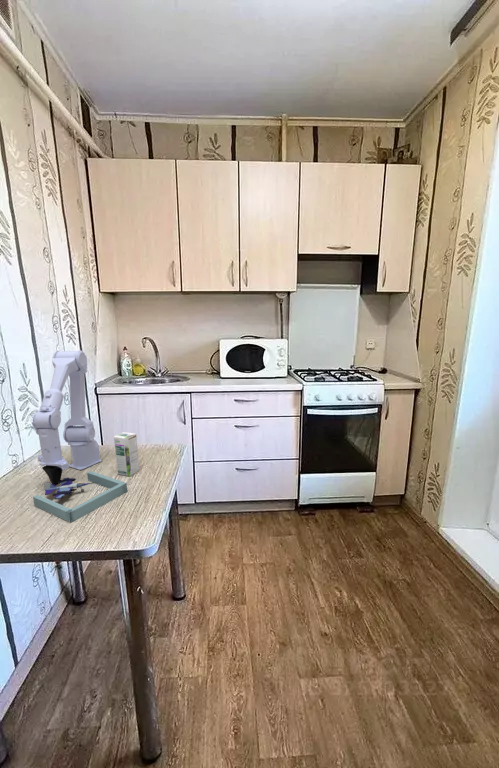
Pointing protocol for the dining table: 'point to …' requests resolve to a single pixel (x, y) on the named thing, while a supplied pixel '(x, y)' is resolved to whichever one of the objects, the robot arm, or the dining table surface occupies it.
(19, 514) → the dining table surface
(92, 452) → the robot arm
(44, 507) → the bay
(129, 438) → the syrup box
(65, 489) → the toy airplane
